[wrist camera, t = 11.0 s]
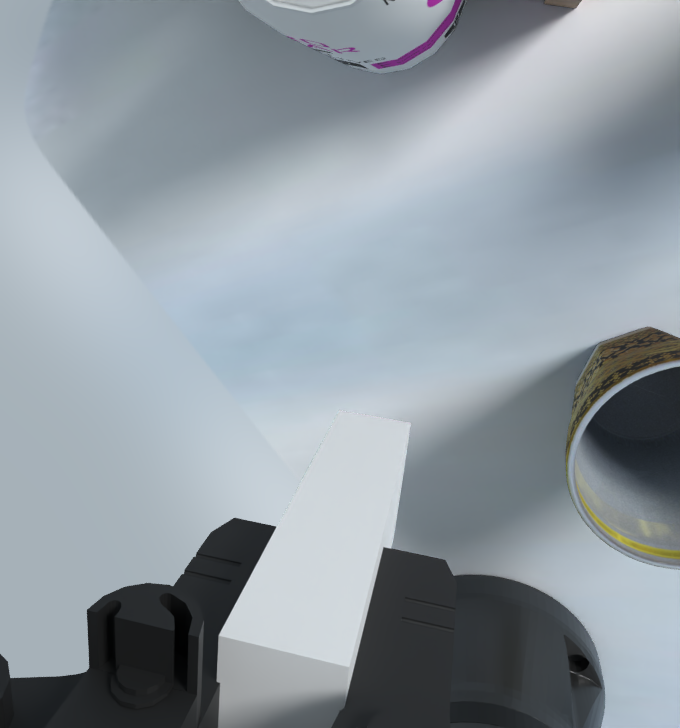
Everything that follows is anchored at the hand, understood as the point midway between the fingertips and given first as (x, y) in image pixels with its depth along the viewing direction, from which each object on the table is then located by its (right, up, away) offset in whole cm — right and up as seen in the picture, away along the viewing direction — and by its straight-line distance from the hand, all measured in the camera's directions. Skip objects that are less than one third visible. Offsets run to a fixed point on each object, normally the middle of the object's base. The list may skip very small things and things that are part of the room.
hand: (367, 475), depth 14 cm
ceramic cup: (+18, +1, +23) cm, 29 cm away
